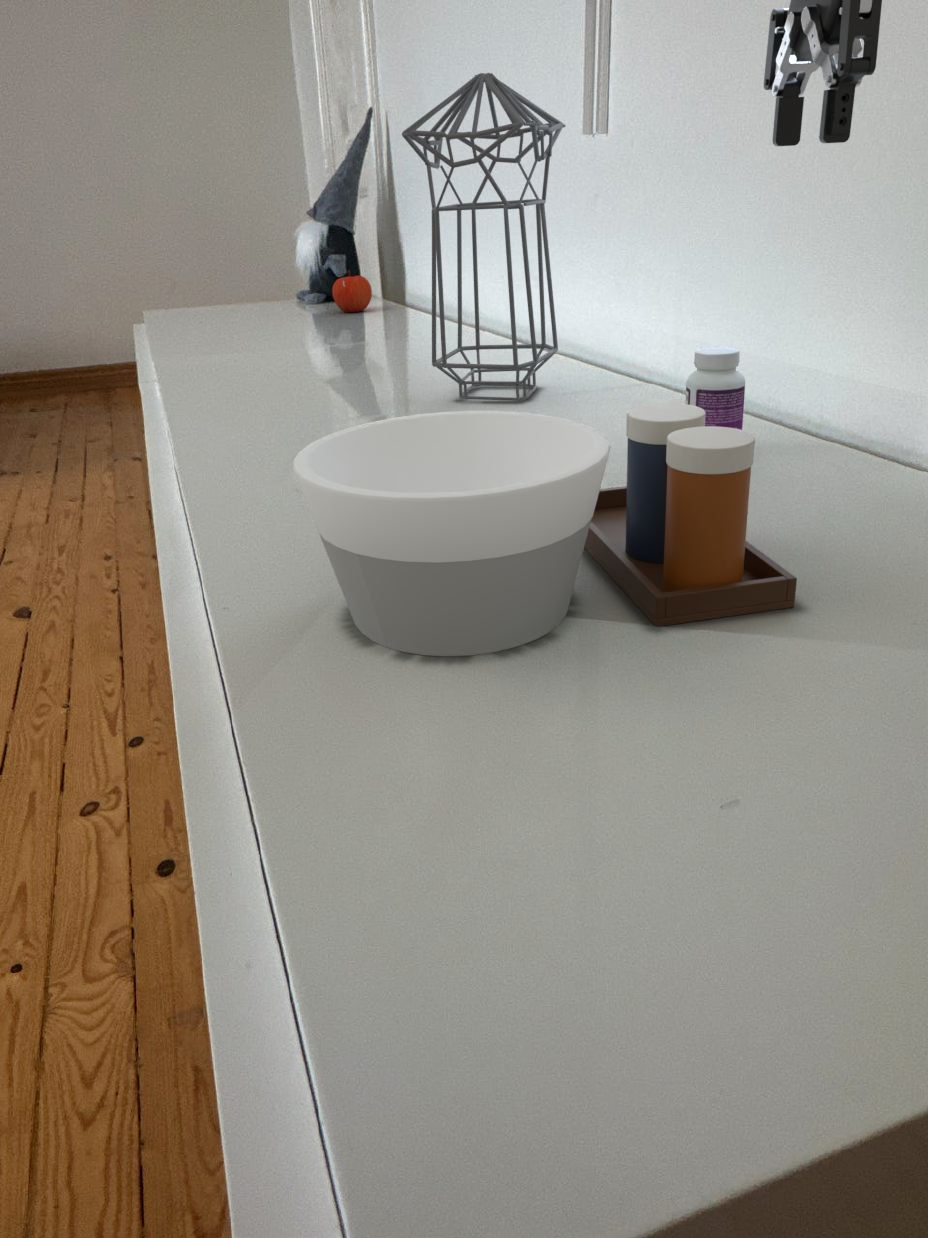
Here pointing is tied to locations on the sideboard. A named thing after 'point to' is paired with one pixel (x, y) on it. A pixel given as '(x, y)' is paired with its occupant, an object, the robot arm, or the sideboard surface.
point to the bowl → (455, 524)
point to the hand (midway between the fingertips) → (808, 144)
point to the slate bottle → (651, 473)
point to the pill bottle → (717, 386)
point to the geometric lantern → (514, 111)
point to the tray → (644, 586)
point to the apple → (352, 293)
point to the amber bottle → (706, 506)
